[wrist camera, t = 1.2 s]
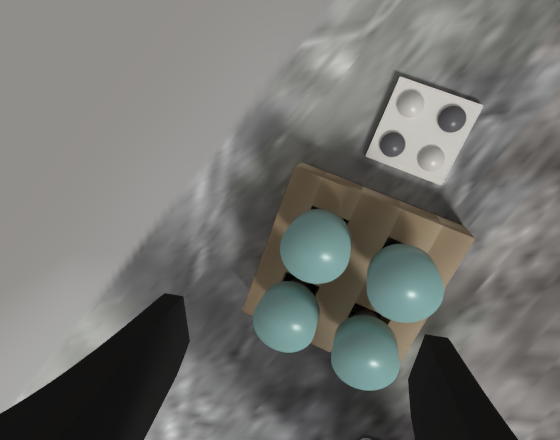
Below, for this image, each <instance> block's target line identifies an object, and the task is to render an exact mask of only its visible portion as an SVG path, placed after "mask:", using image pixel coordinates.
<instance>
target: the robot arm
mask: <svg viewBox="0 0 560 440" xmlns="http://www.w3.org/2000/svg"><path fill="white" fill-rule="evenodd" d="M189 341H190V340H189V333H188V326H187V319H186V312H185V305H184V298H183V296H178V295H172V294H166V293H165V294H163V295H162V296H161V297H159V298H158V299H157V300H156V301H155V302H153V303H152V304H151V305H150V306H149V307H147V308H146V309H145V310H144V311H143V312H141V313H140V314H139V315H138V316H137V317H135V318H134V319H133V320H132V321H131V322H129V323H128V324H127V325H126V326H125V327H123V328H122V329H121V330H120V331H118V332H117V333H116V334H115V335H113V336H112V337H111V338H110V339H108V340H107V341H106V342H105V343H103V344H102V345H101V346H100V347H98V348H97V349H96V350H94V351H93V352H92V353H90V354H89V355H88V356H86V357H85V358H84V359H82V360H81V361H80V362H78V363H77V364H76V365H74V366H73V367H71V368H70V369H69V370H67V371H66V372H65V373H63V374H62V375H60V376H59V377H57V378H56V379H54V380H53V381H52V382H50V383H49V384H47V385H46V386H44V387H43V388H41V389H39V390H38V391H36V392H35V393H33V394H32V395H30V396H29V397H27V398H26V399H24V400H22V401H21V402H19V403H18V404H16V405H14V406H13V407H11V408H9V409H8V410H6V411H4V412H2V413H1V414H0V440H144V438H145V437H146V435H147V433H148V431H149V429H150V427H151V425H152V423H153V421H154V419H155V417H156V415H157V413H158V411H159V409H160V407H161V405H162V403H163V401H164V399H165V397H166V395H167V394H168V392H169V390H170V388H171V386H172V384H173V382H174V380H175V378H176V376H177V373H178V371H179V368H180V366H181V363H182V361H183V358H184V355H185V353H186V350H187V347H188V344H189ZM408 384H409V398H410V410H411V419H412V424H413V430H414V435H415V440H518V439H517V437H516V436H515V435H514V433H513V432H512V431H511V429H510V428H509V427H508V425H507V424H506V422H505V421H504V420H503V418H502V417H501V415H500V414H499V413H498V411H497V410H496V408H495V407H494V406H493V404H492V403H491V401H490V400H489V399H488V397H487V396H486V394H485V393H484V391H483V390H482V388H481V387H480V385H479V384H478V382H477V381H476V379H475V378H474V376H473V375H472V374H471V372H470V370H469V369H468V367H467V366H466V364H465V363H464V361H463V360H462V358H461V357H460V355H459V354H458V352H457V351H456V349H455V348H454V346H453V344H452V343H451V341H450V340H449V339H448V338H445V337H439V336H432V335H426V334H425V336H424V339H423V341H422V344H421V347H420V349H419V352H418V355H417V357H416V360H415V363H414V365H413V368H412V370H411V373H410V376H409V378H408ZM361 440H372V439H369V438H362V439H361Z"/></svg>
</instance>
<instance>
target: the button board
mask: <svg viewBox="0 0 560 440" xmlns="http://www.w3.org/2000/svg"><path fill="white" fill-rule="evenodd" d="M314 206H315V207H317V208H319V209H324V210H328V211H331V212H333V213H335V214H337V215H338V216H340V217H341V218H344V219H346V220H347V222H346V224H347V226H348V228H349V230H350V232H351V237H352V246H351V252H350V258H349V262H348V265H347V267H346V269H345V270H344V272H343V273H342V274H341V275H340V276H339V277H337V278H336V279H334V280H332V281H330V282H327V283H322V284H314V285H316V286H318V287H317V290H316V292H315V294H314V296H315V297H316V299H317V301H318V303H319V308H320V315H319V319H318V323H317V327H316V331H315V335H314V337H313V340H312V341H311V344H313V345H315V346H317V347H319V348H321V349H323V350H326V351H328V352H330V353H332V347H333V341H334V335H335V332H336V329H337V328H338V326H339V325H340V324H341V323H342V322H343V321H344V320H346V319H348V318H350V317H351V316H349V314H350V312H351V310H352V308H353V306H354V304H355V303H357V304H359V305H362V306H364V307H366V308H368V309H371V310H373V311H375V312H377V311H376V310H375V309H374V307H373V306H372V305H371V303H370V301H369V298H368V295H367V269H368V265H369V262H370V260H371V259H372V257H373V256H374V255H375V254H376V253H377V252H378V251H380V250H381V249H382V248H383V246H384V244H385V242H386V240H387V238H388V237H390V238H392V239H395V240H397V241H400V242H402V243H404V244H409V245H413V246H416V247H418V248H420V249H422V250H424V251H425V252H426V253H427V254H428V255H429V256H430V257H431V258H432V260H433V261H434V263H435V265H436V268H437V270H438V272H439V274H440V276H441V279H442V281H443V285H444V289H445V288H446V286H447V284H448V283H449V281H450V279H451V278H452V276H453V274H454V273H455V271H456V269H457V268H458V266H459V264H460V263H461V261H462V259H463V258H464V256H465V254H466V253H467V251H468V249H469V248H470V246H471V244H472V243H473V241H474V239H475V238H474V237H473V236H472V234H471V233H470V232H469V231H468V230H467V229H466V228H465V227H464V226H463V225H460V224H458V223H455V222H453V221H450V220H448V219H445V218H442V217H440V216H437V215H435V214H432V213H430V212H427V211H425V210H422V209H420V208H417V207H415V206H412V205H410V204H407V203H405V202H402V201H400V200H397V199H395V198H392V197H389V196H387V195H384V194H382V193H379V192H377V191H374V190H372V189H369V188H367V187H364V186H362V185H359V184H357V183H354V182H352V181H349V180H347V179H344V178H342V177H339V176H336V175H334V174H331V173H329V172H326V171H324V170H321V169H319V168H316V167H314V166H311V165H309V164H306V163H304V162H301V163H299V164H298V165H296V166H295V167H294V170H293V172H292V175H291V178H290V181H289V183H288V186H287V189H286V192H285V194H284V197H283V200H282V203H281V205H280V208H279V211H278V213H277V216H276V219H275V222H274V224H273V227H272V230H271V233H270V235H269V238H268V241H267V244H266V246H265V249H264V252H263V255H262V257H261V260H260V263H259V266H258V268H257V271H256V274H255V277H254V279H253V282H252V285H251V288H250V290H249V293H248V296H247V299H246V301H245V304H244V307H243V310H242V312H244V313H246V314H249V315H251V316H253V313H254V310H255V308H256V307H257V305H258V303H259V302H260V300H261V298H262V297H263V295H264V293H265V292H266V290H267V289H268V288H269V287H271V286H272V285H274V284H276V283H278V282H282V281H284V280H285V277H286V275H287V273H289V274H291V273H290V272H289V271H288V269H287V268H286V267H285V265H284V263H283V261H282V258H281V254H280V243H281V239H282V237H283V234H284V233H285V231H286V230H287V228H288V227H289V226H290V225H291V223H292V222H293V221H294V219H295V218H296V217H297V216H299V215H300V214H302V213H303V212H305V211H308V210H312V209H313V207H314ZM312 284H313V283H312ZM377 313H378V312H377ZM427 318H428V317H427ZM427 318H425V319H423V320H420V321H417V322H411V323H402V322H396V321H392V320H390V319H388V318H386V317H384V316H382V315H381V317H380V318H379V319H380V320H382V321H383V322H385V323H386V324H387V325H388V326H389V327H390V328H391V329H392V331H393V332H394V334H395V336H396V340H397V347H398V355H399V364H400V363H401V361H402V359H403V358H404V356H405V354H406V353H407V351H408V349H409V348H410V346H411V344H412V343H413V341H414V339H415V338H416V336H417V334H418V333H419V331H420V329H421V328H422V326H423V324H424V323H425V321H426V319H427Z"/></svg>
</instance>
